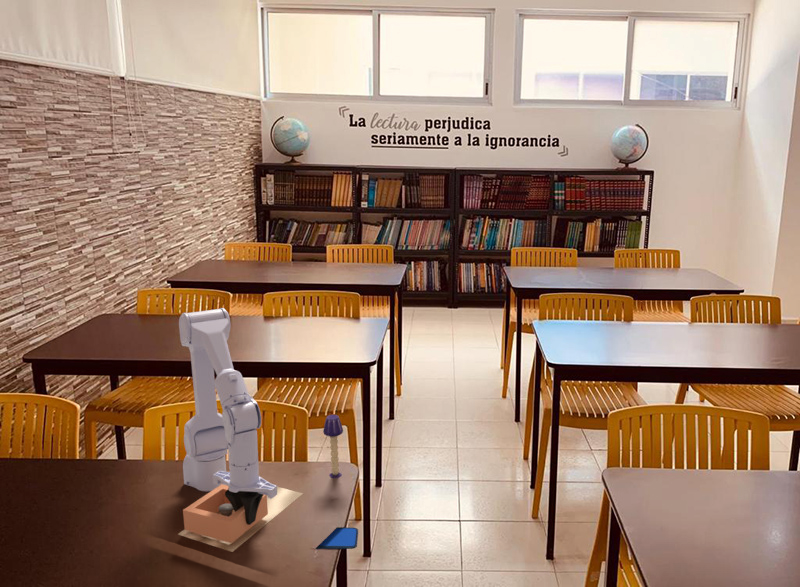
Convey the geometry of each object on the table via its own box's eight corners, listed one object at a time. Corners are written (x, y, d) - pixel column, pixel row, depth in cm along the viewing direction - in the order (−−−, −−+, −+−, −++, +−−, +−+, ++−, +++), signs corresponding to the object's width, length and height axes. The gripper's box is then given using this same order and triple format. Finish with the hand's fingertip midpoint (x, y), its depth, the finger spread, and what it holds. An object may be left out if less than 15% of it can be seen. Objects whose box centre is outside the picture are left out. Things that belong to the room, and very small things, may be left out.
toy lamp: (339, 487, 162) (338, 421, 158) (321, 484, 163) (319, 419, 159) (347, 478, 166) (346, 413, 162) (329, 475, 167) (328, 411, 164)
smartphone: (356, 547, 137) (282, 546, 137) (356, 551, 138) (282, 550, 137) (358, 527, 144) (287, 526, 144) (358, 530, 145) (287, 529, 144)
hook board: (178, 540, 140) (176, 515, 139) (253, 486, 162) (252, 464, 161) (232, 558, 134) (231, 532, 133) (303, 499, 156) (302, 476, 155)
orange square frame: (184, 530, 140) (182, 509, 139) (223, 502, 150) (221, 484, 149) (231, 543, 135) (229, 522, 134) (267, 514, 145) (266, 494, 144)
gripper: (201, 461, 137) (205, 522, 140) (261, 476, 130) (263, 539, 134) (224, 447, 143) (228, 505, 146) (282, 461, 137) (284, 522, 140)
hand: (246, 521), depth 140 cm, fingers closed on orange square frame, 2 cm apart
